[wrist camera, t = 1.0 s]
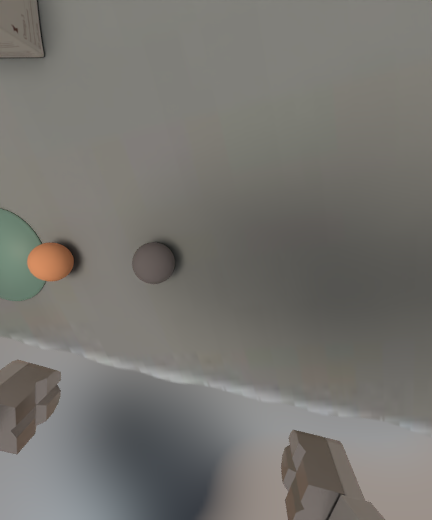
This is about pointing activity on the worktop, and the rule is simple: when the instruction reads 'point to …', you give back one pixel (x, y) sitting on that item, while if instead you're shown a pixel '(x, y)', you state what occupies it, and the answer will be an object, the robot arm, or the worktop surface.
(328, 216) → the worktop surface
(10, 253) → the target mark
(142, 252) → the dark gray ball
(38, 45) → the supplement box
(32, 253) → the object ball
